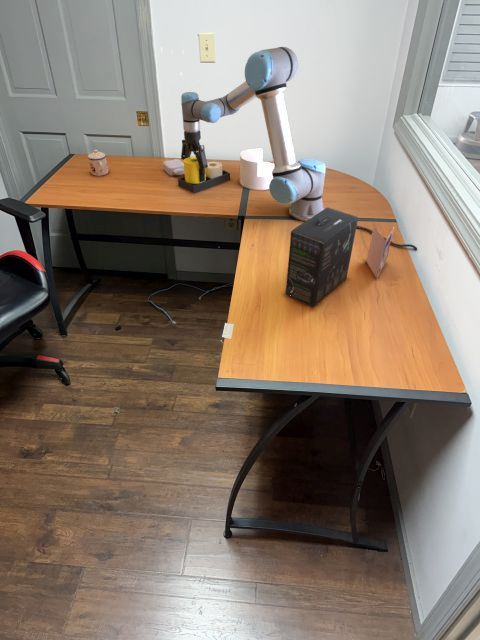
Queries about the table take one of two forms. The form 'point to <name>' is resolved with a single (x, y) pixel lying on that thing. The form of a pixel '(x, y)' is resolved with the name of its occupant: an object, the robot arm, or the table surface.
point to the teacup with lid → (98, 163)
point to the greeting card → (378, 251)
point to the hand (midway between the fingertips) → (195, 178)
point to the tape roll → (192, 170)
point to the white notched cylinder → (255, 170)
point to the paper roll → (213, 170)
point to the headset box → (320, 255)
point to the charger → (174, 167)
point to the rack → (206, 183)
